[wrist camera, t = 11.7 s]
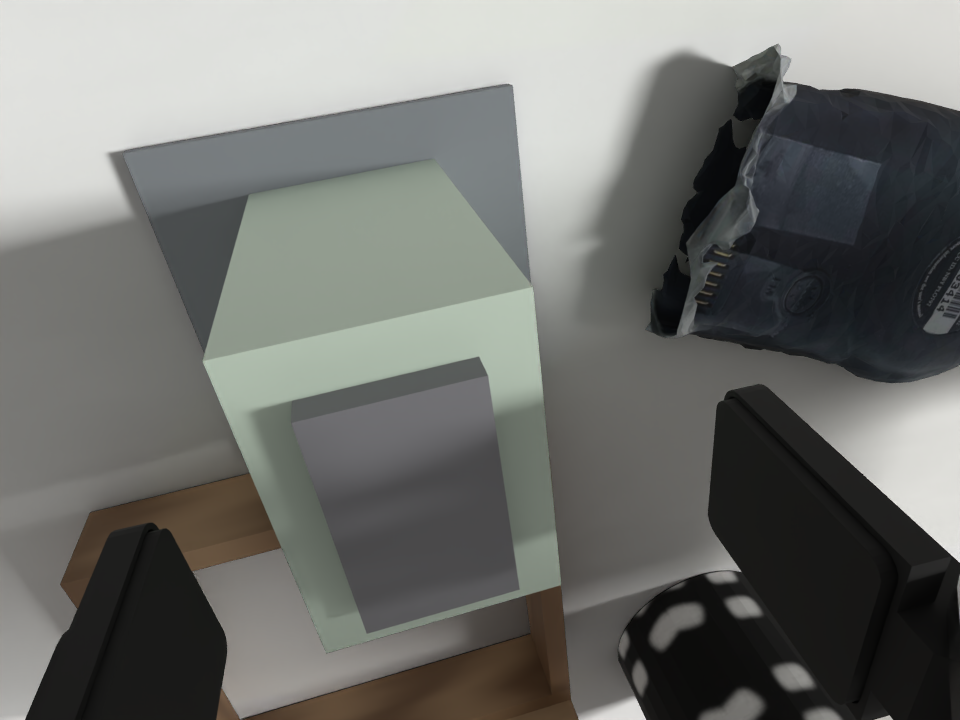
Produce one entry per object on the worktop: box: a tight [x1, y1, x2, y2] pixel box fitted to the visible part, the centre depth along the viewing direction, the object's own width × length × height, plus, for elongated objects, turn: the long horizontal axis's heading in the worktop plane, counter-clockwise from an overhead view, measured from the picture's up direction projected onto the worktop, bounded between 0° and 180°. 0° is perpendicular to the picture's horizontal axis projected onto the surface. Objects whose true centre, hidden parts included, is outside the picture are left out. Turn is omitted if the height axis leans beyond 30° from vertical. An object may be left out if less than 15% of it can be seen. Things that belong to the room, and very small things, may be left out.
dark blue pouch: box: [646, 44, 960, 383], centre depth 21 cm, size 9×6×15 cm
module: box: [203, 159, 561, 653], centre depth 15 cm, size 5×7×10 cm
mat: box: [123, 84, 531, 353], centre depth 19 cm, size 10×10×1 cm
